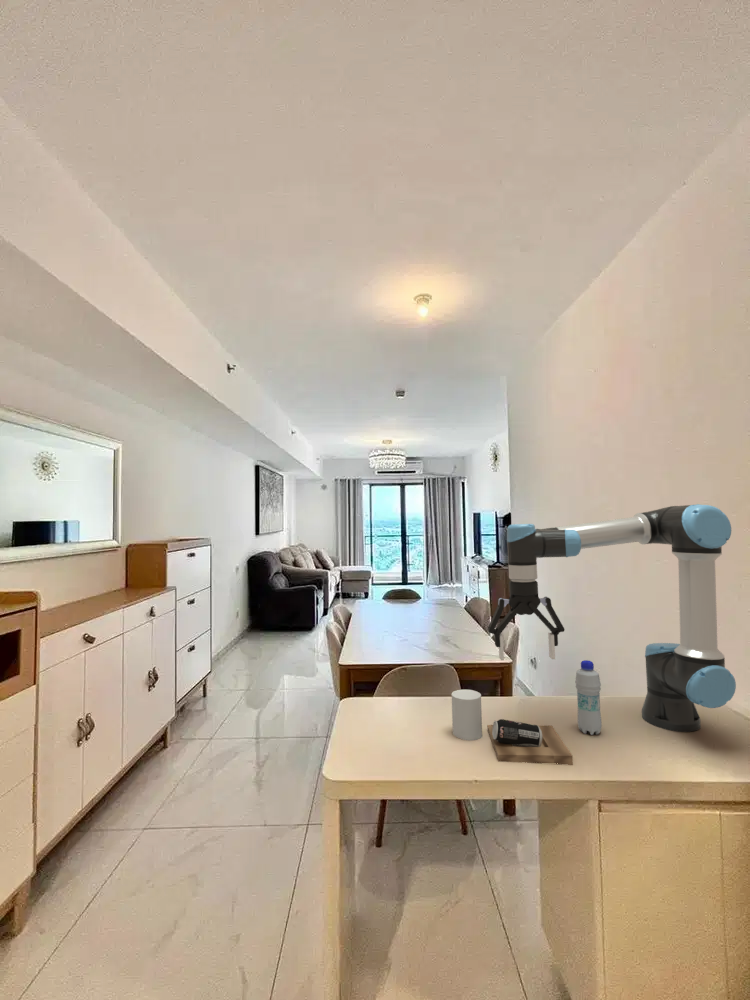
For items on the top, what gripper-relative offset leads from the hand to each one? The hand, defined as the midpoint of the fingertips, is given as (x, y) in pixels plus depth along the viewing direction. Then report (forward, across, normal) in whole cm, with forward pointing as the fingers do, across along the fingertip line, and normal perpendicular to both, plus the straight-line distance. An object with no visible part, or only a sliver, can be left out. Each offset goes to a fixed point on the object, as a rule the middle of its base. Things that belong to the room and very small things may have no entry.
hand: (526, 658), depth 134 cm
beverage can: (+20, -2, +4) cm, 20 cm away
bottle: (+23, -19, -8) cm, 31 cm away
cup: (+23, +16, -4) cm, 28 cm away
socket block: (+23, +2, +2) cm, 23 cm away
